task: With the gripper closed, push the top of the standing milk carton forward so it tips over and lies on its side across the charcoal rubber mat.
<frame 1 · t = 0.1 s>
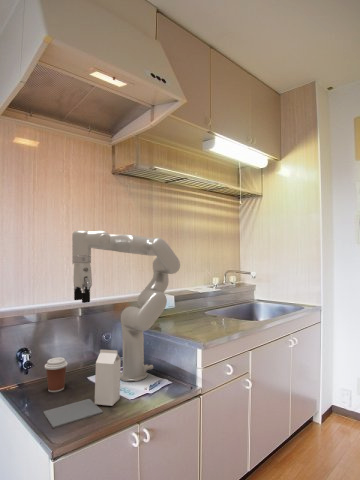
hand: (81, 301, 137), 37 cm above the countertop, tool pointing down, fingers open, 9 cm apart
coffee cup: (56, 389, 137), on the countertop
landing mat: (73, 412, 116), on the countertop
milk carton: (107, 402, 124), on the countertop, touching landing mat
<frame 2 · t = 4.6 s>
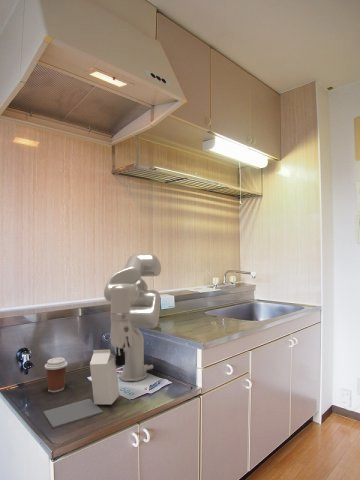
hand: (120, 365, 127), 13 cm above the countertop, tool pointing down, fingers closed
milk carton: (107, 400, 124), point 1 cm above the countertop, touching gripper, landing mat
everything else where it was.
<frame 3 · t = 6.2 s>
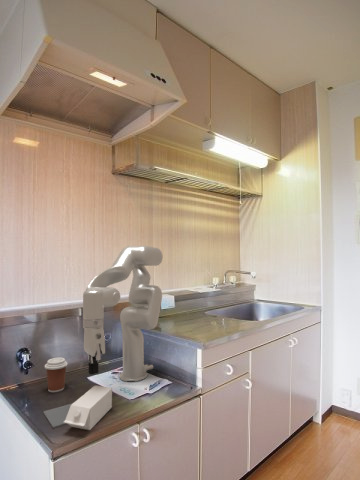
hand: (93, 373, 121), 12 cm above the countertop, tool pointing down, fingers closed
milk carton: (103, 395, 120), point 4 cm above the countertop, touching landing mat
everything else where it was.
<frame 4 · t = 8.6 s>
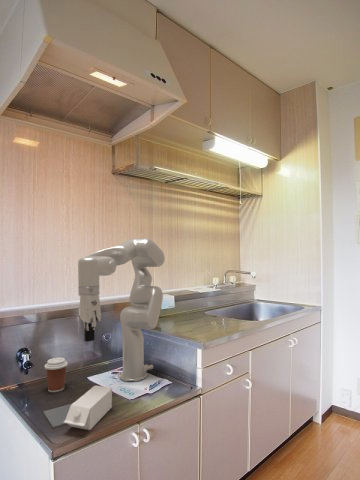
hand: (89, 340, 121), 24 cm above the countertop, tool pointing down, fingers closed
nothing on the countertop moved.
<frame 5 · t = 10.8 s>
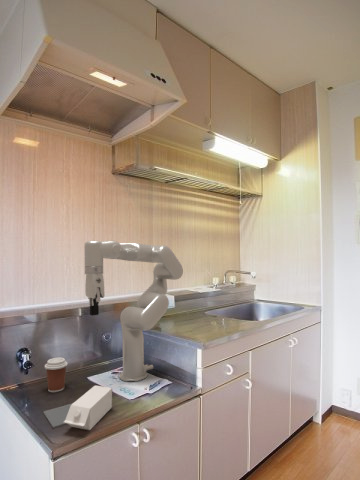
hand: (94, 314, 136), 31 cm above the countertop, tool pointing down, fingers closed
nothing on the countertop moved.
at the end: milk carton tilted 92°; milk carton inside the target area (10.1 cm from its centre), point 4.2 cm above the countertop; milk carton touching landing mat, countertop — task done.
